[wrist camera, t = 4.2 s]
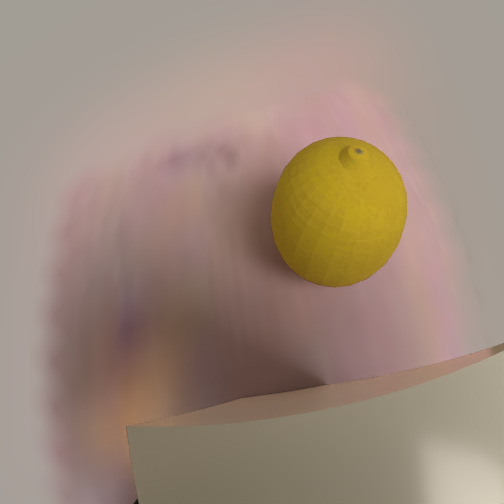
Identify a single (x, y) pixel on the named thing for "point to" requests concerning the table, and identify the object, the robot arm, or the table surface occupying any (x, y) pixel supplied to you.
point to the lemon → (338, 211)
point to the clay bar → (337, 442)
